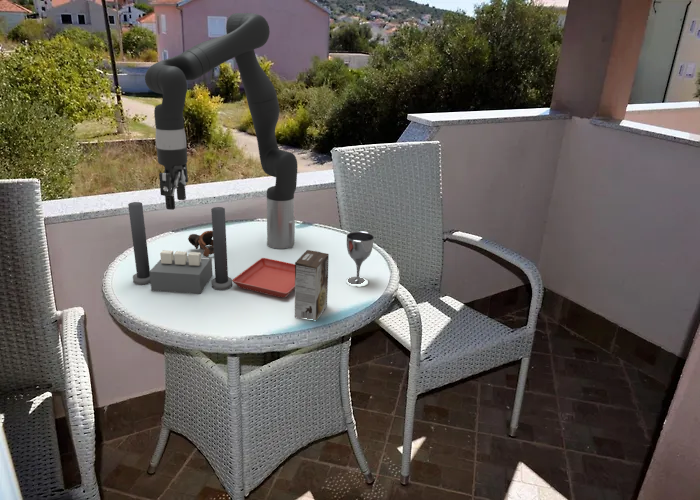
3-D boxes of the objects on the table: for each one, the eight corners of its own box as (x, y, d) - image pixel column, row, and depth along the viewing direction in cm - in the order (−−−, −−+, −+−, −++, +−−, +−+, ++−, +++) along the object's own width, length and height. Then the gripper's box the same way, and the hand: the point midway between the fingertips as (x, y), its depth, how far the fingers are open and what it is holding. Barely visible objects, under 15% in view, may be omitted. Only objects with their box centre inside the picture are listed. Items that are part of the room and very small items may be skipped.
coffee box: (306, 302, 145) (307, 249, 138) (327, 306, 143) (329, 252, 137) (293, 317, 137) (293, 262, 130) (316, 322, 135) (317, 266, 129)
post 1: (158, 276, 155) (150, 201, 145) (150, 285, 149) (141, 208, 140) (138, 275, 155) (129, 200, 146) (129, 284, 149) (119, 206, 140)
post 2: (234, 281, 154) (231, 206, 145) (229, 290, 149) (226, 213, 140) (214, 280, 154) (210, 205, 145) (208, 289, 149) (203, 211, 140)
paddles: (202, 262, 150) (201, 252, 149) (200, 265, 148) (199, 255, 147) (162, 260, 150) (161, 250, 149) (160, 263, 148) (159, 252, 147)
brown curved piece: (225, 246, 180) (228, 231, 173) (218, 267, 173) (221, 252, 167) (190, 237, 177) (192, 222, 171) (182, 258, 171) (184, 243, 165)
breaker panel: (212, 275, 157) (211, 256, 155) (200, 293, 146) (199, 274, 144) (167, 272, 157) (165, 253, 155) (151, 290, 146) (149, 270, 144)
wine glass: (373, 279, 160) (377, 234, 155) (365, 289, 153) (369, 243, 148) (349, 274, 163) (351, 229, 157) (340, 284, 156) (343, 238, 150)
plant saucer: (287, 303, 144) (287, 292, 143) (231, 290, 150) (230, 279, 149) (313, 277, 160) (314, 267, 159) (262, 266, 166) (262, 257, 164)
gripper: (176, 152, 129) (181, 213, 136) (194, 141, 142) (198, 197, 149) (146, 150, 130) (152, 211, 136) (167, 139, 143) (172, 196, 149)
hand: (176, 204), depth 142 cm, fingers open, 8 cm apart
